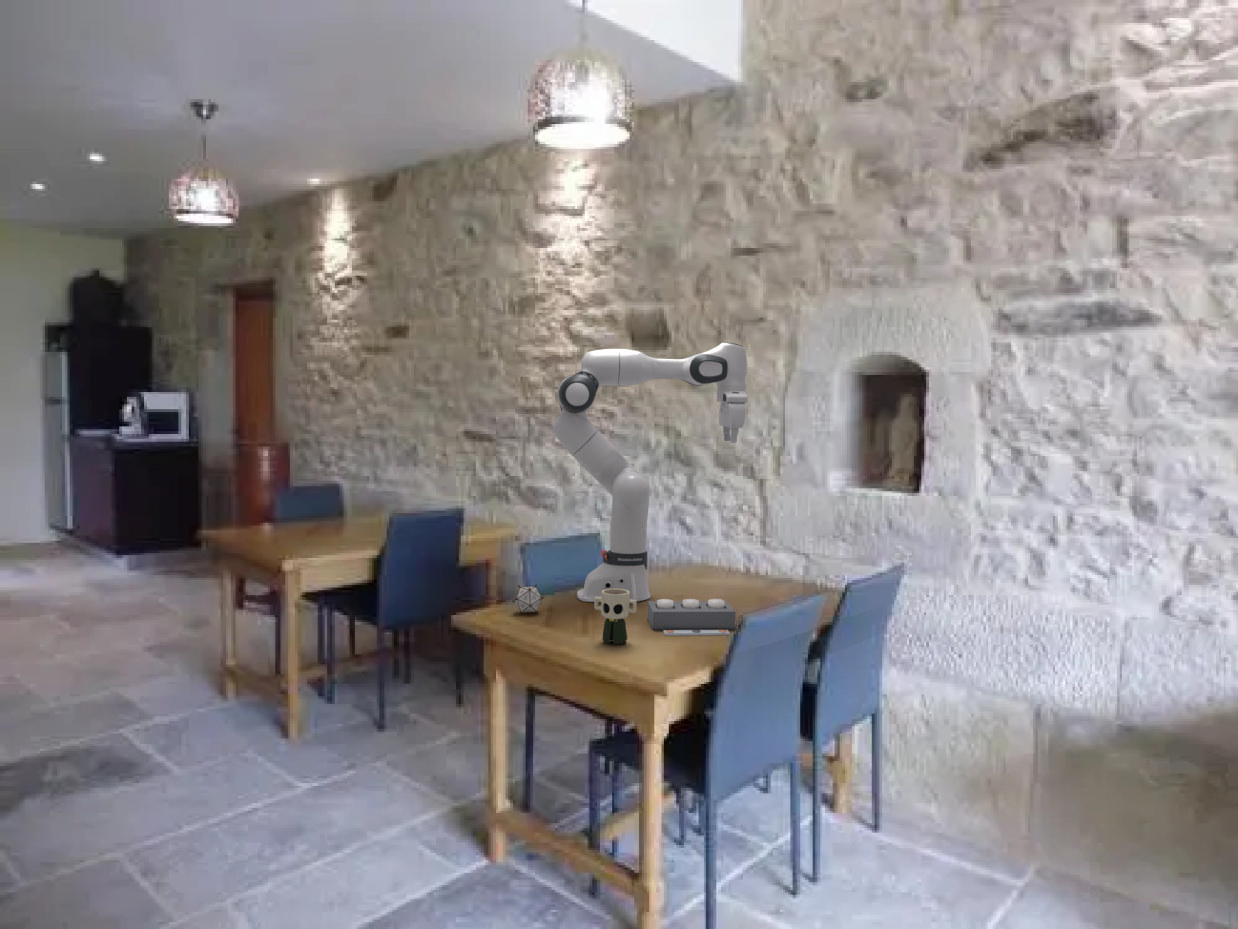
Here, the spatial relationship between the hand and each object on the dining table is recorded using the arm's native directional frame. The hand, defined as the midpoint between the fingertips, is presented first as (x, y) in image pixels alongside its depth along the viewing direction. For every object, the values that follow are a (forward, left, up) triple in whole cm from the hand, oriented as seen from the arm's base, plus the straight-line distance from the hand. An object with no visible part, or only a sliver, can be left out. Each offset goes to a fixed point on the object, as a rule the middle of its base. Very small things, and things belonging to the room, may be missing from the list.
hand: (730, 441), depth 273 cm
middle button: (-17, -33, -44) cm, 58 cm away
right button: (-10, -33, -44) cm, 56 cm away
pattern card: (-17, -42, -48) cm, 66 cm away
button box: (-17, -33, -48) cm, 60 cm away
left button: (-24, -33, -44) cm, 60 cm away
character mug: (-39, -50, -48) cm, 79 cm away
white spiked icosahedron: (-61, -20, -48) cm, 80 cm away
